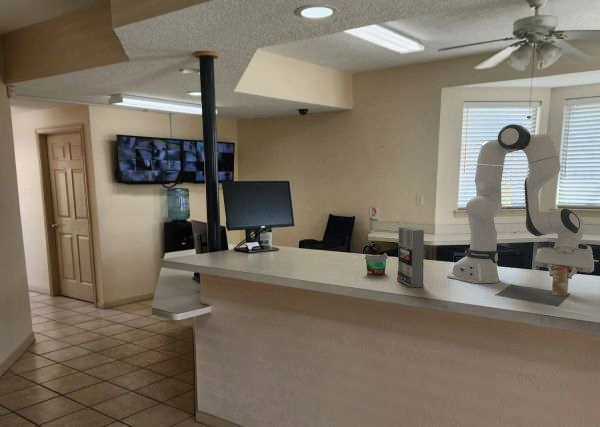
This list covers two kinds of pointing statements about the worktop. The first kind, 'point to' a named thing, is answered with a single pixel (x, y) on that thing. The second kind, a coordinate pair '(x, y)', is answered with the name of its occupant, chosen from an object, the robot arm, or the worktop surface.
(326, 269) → the worktop surface
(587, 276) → the worktop surface
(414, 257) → the cassette tape recorder
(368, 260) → the food container
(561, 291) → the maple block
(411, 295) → the worktop surface
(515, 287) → the charcoal mat
